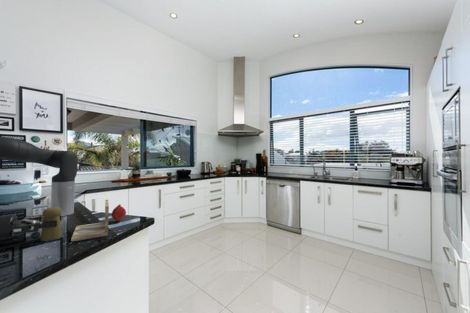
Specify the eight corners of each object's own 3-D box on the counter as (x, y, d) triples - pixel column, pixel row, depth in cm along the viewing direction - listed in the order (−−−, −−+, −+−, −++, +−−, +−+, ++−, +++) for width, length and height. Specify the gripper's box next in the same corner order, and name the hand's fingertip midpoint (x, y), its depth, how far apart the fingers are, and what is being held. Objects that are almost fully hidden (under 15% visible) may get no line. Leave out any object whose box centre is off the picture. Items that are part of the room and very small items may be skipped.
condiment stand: (76, 228, 84) (77, 202, 85) (107, 224, 90) (108, 199, 91) (71, 241, 71) (72, 210, 71) (107, 235, 77) (108, 206, 77)
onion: (110, 224, 91) (110, 206, 91) (112, 220, 96) (112, 203, 96) (125, 222, 93) (125, 205, 93) (126, 219, 98) (126, 202, 99)
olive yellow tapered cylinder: (49, 241, 71) (49, 210, 71) (35, 240, 72) (36, 209, 72) (66, 235, 77) (67, 206, 77) (53, 234, 78) (54, 205, 78)
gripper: (-17, 222, 61) (55, 214, 70) (3, 211, 73) (63, 206, 82) (-18, 247, 61) (55, 236, 69) (3, 232, 73) (62, 225, 81)
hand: (59, 220), depth 75 cm, fingers open, 7 cm apart
